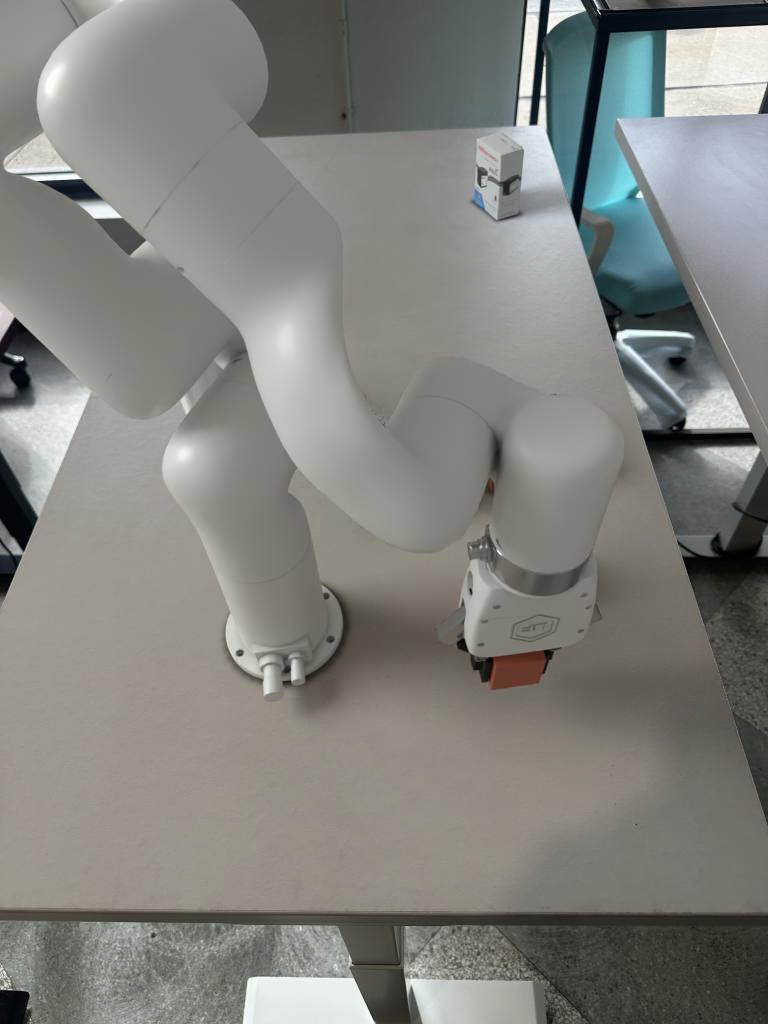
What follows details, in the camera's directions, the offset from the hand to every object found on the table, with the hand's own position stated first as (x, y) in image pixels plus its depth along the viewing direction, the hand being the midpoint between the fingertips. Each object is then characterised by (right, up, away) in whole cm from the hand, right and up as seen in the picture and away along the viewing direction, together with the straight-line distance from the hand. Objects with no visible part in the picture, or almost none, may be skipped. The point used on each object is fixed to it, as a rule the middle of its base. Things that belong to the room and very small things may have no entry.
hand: (509, 663), depth 67 cm
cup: (-35, +26, +34) cm, 55 cm away
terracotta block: (0, 0, 0) cm, 0 cm away
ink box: (+9, +70, +68) cm, 98 cm away
